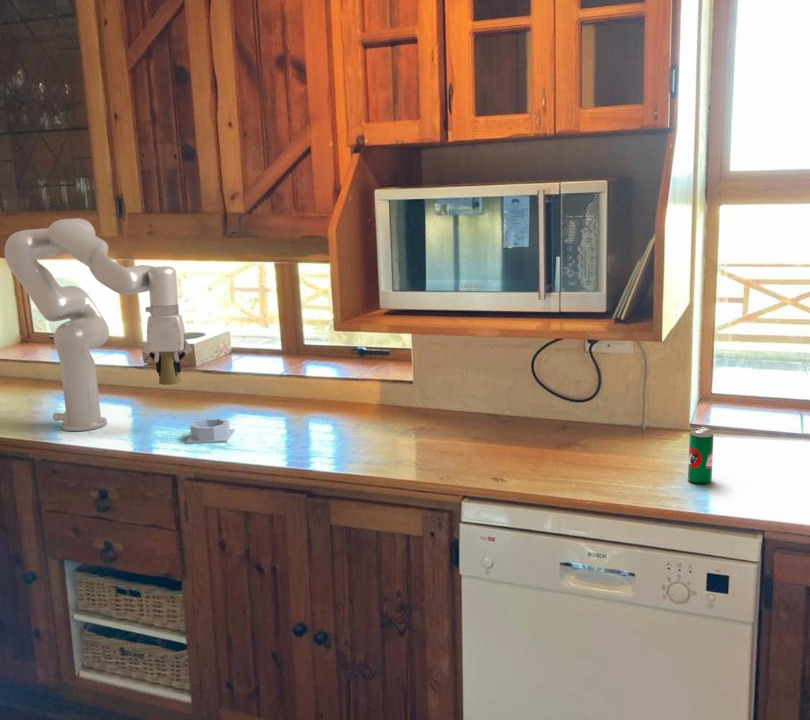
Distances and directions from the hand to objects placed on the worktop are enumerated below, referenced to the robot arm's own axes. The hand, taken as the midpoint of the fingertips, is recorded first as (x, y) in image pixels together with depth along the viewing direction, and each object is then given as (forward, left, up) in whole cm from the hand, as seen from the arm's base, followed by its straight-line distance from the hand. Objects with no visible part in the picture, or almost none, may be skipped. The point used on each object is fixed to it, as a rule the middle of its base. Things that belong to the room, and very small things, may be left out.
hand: (169, 374), depth 243 cm
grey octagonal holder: (+12, -8, -16) cm, 22 cm away
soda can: (+132, -55, -17) cm, 144 cm away
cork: (0, 0, -2) cm, 2 cm away
